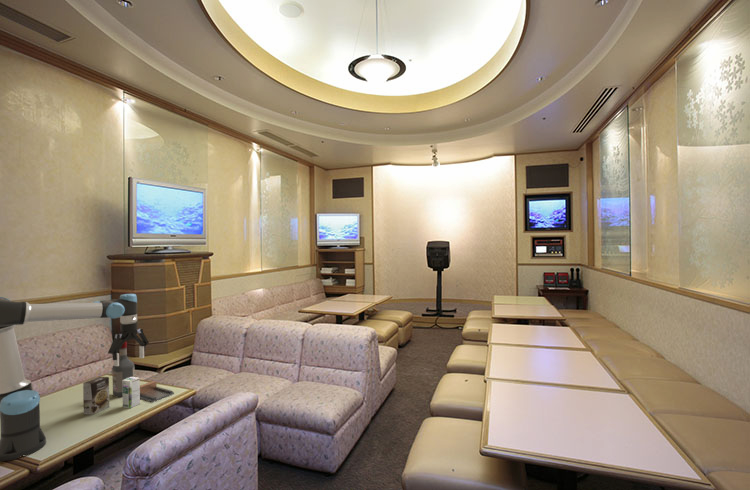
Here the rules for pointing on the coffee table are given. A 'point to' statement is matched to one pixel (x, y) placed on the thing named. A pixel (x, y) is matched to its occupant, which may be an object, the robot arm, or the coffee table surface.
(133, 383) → the syrup box
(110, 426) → the coffee table surface
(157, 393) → the rail board
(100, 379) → the coffee box
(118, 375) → the liquor
